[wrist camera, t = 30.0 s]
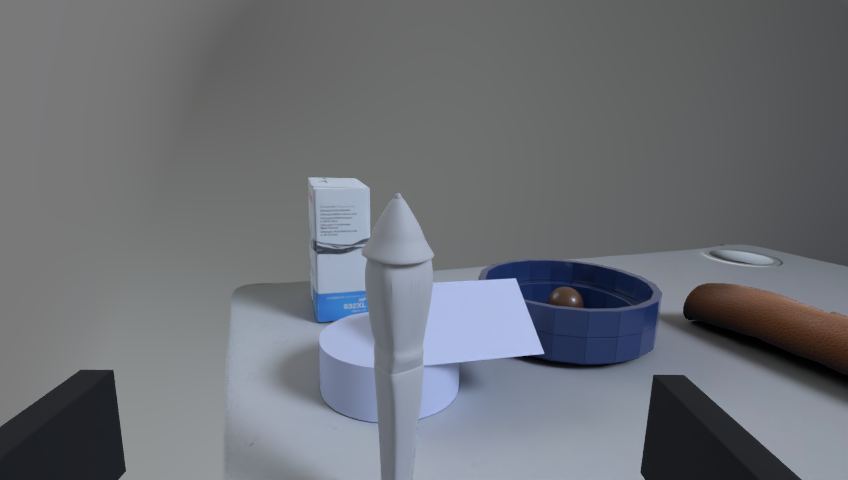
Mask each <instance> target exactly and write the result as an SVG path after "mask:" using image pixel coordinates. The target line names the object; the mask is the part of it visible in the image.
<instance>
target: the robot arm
mask: <svg viewBox="0 0 848 480" xmlns="http://www.w3.org/2000/svg"><path fill="white" fill-rule="evenodd" d="M125 471H126V468H125V461H124V453H123V445H122V437H121V428H120V420H119V412H118V404H117V396H116V389H115V380H114V372H113V370H80V371H78V372H77V373H76V374H74V375H73V376H71V377H70V378H69V379H67V380H66V381H64V382H63V383H62V384H60V385H59V386H57V387H56V388H54V389H53V390H52V391H50V392H49V393H47V394H46V395H45V396H43V397H42V398H40V399H39V400H38V401H36V402H35V403H33V404H32V405H31V406H29V407H28V408H26V409H25V410H24V411H22V412H21V413H19V414H18V415H17V416H15V417H14V418H12V419H11V420H9V421H8V422H7V423H5V424H4V425H3V426H1V427H0V480H118V479H119V478H120V477H121V476H122V475H123V474H124V472H125ZM641 474H642V476H643V477H644V479H645V480H801V479H800V478H799V477H798V476H797V475H796V474H795V473H793V472H792V471H791V470H790V469H789V468H788V467H787V466H786V465H784V464H783V463H782V462H781V461H780V460H779V459H778V458H777V457H775V456H774V455H773V454H772V453H771V452H770V451H769V450H768V449H766V448H765V447H764V446H763V445H762V444H761V443H760V442H759V441H757V440H756V439H755V438H754V437H753V436H752V435H751V434H750V433H748V432H747V431H746V430H745V429H744V428H743V427H742V426H741V425H739V424H738V423H737V422H736V421H735V420H734V419H733V418H732V417H730V416H729V415H728V414H727V413H726V412H725V411H724V410H723V409H721V408H720V407H719V406H718V405H717V404H716V403H715V402H714V401H712V400H711V399H710V398H709V397H708V396H707V395H706V394H705V393H703V392H702V391H701V390H700V389H699V388H698V387H697V386H696V385H694V384H693V383H692V382H691V381H690V380H689V379H688V378H687V377H685V376H684V375H653V383H652V390H651V398H650V405H649V413H648V420H647V428H646V435H645V443H644V450H643V458H642V465H641Z"/></svg>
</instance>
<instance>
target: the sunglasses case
mask: <svg viewBox="0 0 848 480" xmlns="http://www.w3.org/2000/svg"><path fill="white" fill-rule="evenodd" d="M683 313H684V316H685V318H686V319H688V320H701V321H703V322H705V323H709V324H712V325H716V326H719V327H721V328H724V329H731V330H733V331H735V332H737V333H740V334H744V335H748V336H753V337H757V338H759V339H761V340H762V341H764V342H766V343H769V344H771V345H774V346H776V347H779V348H781V349H783V350H785V351H788V352H790V353H793V354H795V355H798V356H801V357H804V358H807V359H810V360H813V361H816V362H819V363H821V364H823V365H825V366H827V367H829V368H831V369H833V370H836V371H838V372H840V373H842V374H845V375H848V317H847V316H846V315H843V314H840V313H836V312H831V313H828V312H824V311H822V310H819V309H817V308H814V307H812V306H808V305H806V304H803V303H801V302H798V301H796V300H793V299H790V298H788V297H786V296H783V295H780V294H776V293H773V292H770V291H765V290H761V289H757V288H752V287H746V286H740V285H733V284H720V283H707V284H702V285H700V286H698V287H696V288H695V289H694V290H693V291H692V292H691V293H690V294H689V296H688V297H687V299H686V301H685V303H684V307H683Z"/></svg>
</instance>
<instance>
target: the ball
mask: <svg viewBox="0 0 848 480" xmlns="http://www.w3.org/2000/svg"><path fill="white" fill-rule="evenodd" d="M547 304H550V305H555V306H565V307H575V308H583V299H582V297H581V295H580V294H579V293H578V292H577V291H576V290H575V289H573V288H570V287H559V288H556V289H555V290H553V291H552V292H551V293H550V295H549V297H548V299H547Z"/></svg>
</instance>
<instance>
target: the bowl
mask: <svg viewBox="0 0 848 480" xmlns="http://www.w3.org/2000/svg"><path fill="white" fill-rule="evenodd" d="M513 278H516V280H517V283H518V285H519V288H520V291H521V293H522V296H523V299H524V301H525V304H526V307H527V309H528V312H529V314H530V317H531V320H532V322H533V325H534V328H535V330H536V333H537V336H538V338H539V341H540V343H541V346H542V349H543V351H544V354H537V355H528V356H531V357H535V358H538V359H542V360H547V361H552V362H558V363H565V364H575V365H601V364H610V363H618V362H622V361H627V360H632V359H637V358H639V357H641V356H643V355H644V354H646V353H648V352H650V351H651V350H653V347H654V344H655V341H656V336H657V328H658V321H659V313H660V306H661V298H662V292H661V291H660V290H659V288H658V287H657V286H656V285H655V284H654V283H652V282H650V281H648V280H647V279H645V278H643V277H641V276H638V275H635V274H632V273H629V272H626V271H623V270H620V269H616V268H612V267H607V266H603V265H598V264H592V263H586V262H579V261H570V260H556V259H523V260H513V261H506V262H502V263H497V264H493V265H491V266H489V267H487V268H485V269H483V270H482V271H481V273H480V276H479V280H495V279H513ZM559 287H570V288H573V289H575V290H576V291H577V292H578V293H579V294H580V295H581V297H582V299H583V308H575V307H565V306H555V305H550V304H547V299H548V297H549V295H550V293H551V292H552V291H553V290H555V289H556V288H559Z"/></svg>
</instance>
